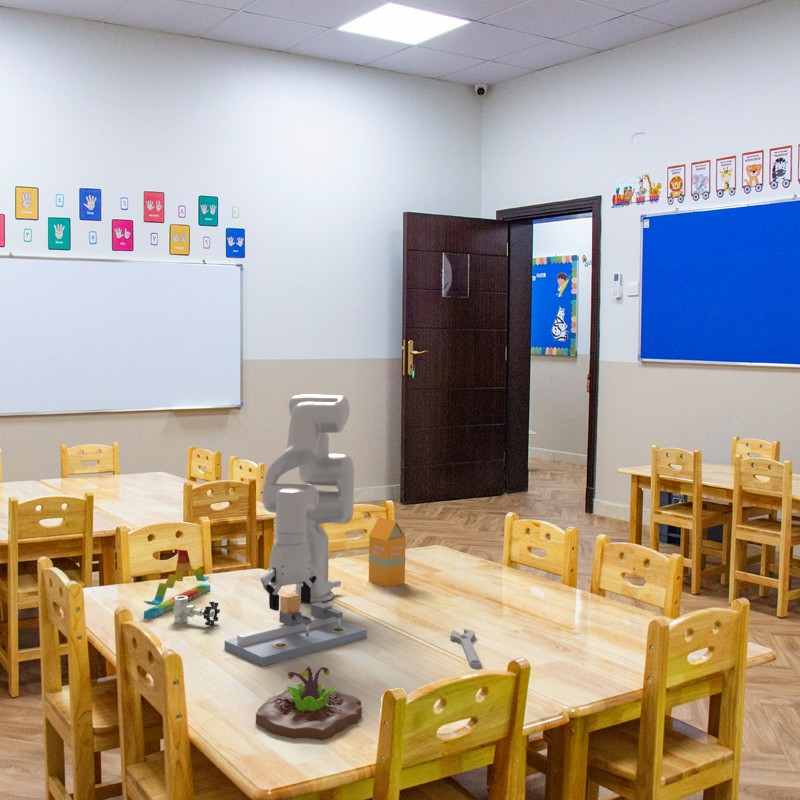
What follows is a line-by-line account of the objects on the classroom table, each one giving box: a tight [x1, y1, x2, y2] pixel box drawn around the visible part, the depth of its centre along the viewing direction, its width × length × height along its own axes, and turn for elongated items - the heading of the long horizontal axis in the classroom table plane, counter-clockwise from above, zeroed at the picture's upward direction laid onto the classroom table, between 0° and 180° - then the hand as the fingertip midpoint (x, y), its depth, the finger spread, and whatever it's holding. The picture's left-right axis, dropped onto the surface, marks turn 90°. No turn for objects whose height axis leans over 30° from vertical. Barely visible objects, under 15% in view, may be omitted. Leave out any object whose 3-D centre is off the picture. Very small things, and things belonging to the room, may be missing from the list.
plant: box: [255, 666, 363, 741], centre depth 180 cm, size 20×20×11 cm
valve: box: [172, 595, 221, 627], centre depth 240 cm, size 7×7×12 cm
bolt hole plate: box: [224, 602, 368, 667], centre depth 225 cm, size 32×16×7 cm, turn 134°
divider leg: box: [278, 592, 311, 636], centre depth 225 cm, size 4×10×9 cm, turn 44°
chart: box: [143, 549, 211, 619], centre depth 258 cm, size 30×3×15 cm, turn 162°
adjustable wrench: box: [449, 628, 482, 669], centre depth 222 cm, size 25×6×2 cm, turn 179°
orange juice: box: [368, 516, 406, 588], centre depth 285 cm, size 8×9×20 cm
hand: (290, 606), depth 227 cm, fingers open, 9 cm apart
